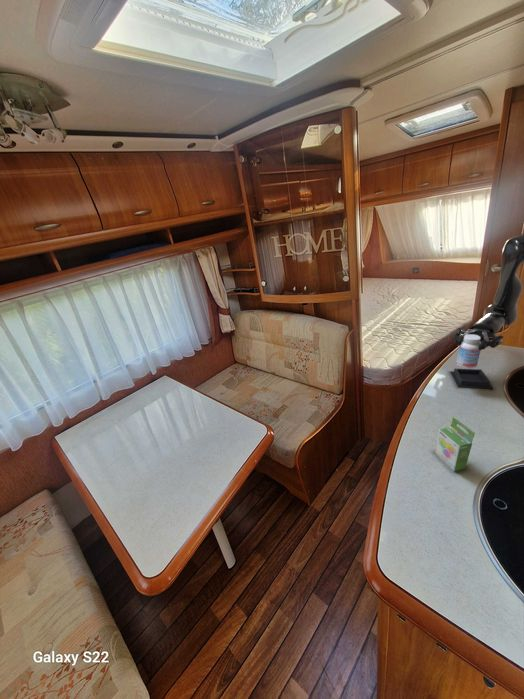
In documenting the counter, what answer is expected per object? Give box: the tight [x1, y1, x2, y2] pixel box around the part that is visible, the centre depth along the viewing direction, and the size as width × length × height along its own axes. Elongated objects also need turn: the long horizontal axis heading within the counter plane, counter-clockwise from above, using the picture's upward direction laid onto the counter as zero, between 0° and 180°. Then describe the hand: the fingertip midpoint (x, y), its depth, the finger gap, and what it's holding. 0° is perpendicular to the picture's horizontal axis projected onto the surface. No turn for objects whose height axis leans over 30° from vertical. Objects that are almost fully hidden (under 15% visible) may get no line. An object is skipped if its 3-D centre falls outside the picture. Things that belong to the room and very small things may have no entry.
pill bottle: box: [456, 334, 482, 369], centre depth 97 cm, size 6×6×11 cm
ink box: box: [435, 416, 476, 473], centre depth 75 cm, size 7×4×13 cm, turn 10°
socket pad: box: [449, 368, 494, 390], centre depth 107 cm, size 11×11×3 cm
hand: (468, 345), depth 94 cm, fingers closed on pill bottle, 6 cm apart
